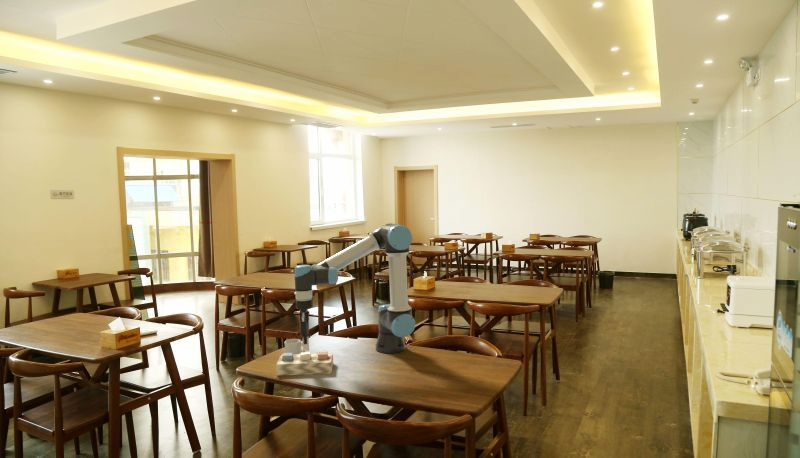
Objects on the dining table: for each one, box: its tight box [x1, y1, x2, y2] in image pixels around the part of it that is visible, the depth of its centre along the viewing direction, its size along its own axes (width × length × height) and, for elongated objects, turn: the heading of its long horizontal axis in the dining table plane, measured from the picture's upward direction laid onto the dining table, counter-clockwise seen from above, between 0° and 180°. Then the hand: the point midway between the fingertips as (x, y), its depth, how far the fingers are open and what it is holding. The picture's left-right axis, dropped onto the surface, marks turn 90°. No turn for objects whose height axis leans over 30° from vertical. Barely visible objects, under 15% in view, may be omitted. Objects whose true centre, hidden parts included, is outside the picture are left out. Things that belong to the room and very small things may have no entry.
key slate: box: [281, 352, 293, 361], centre depth 237 cm, size 4×4×5 cm
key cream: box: [300, 351, 312, 360], centre depth 238 cm, size 4×4×5 cm
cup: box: [284, 338, 306, 354], centre depth 256 cm, size 11×8×8 cm
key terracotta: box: [317, 351, 329, 360], centre depth 238 cm, size 4×4×5 cm
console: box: [275, 352, 334, 377], centre depth 238 cm, size 24×14×5 cm, turn 94°
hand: (306, 350), depth 238 cm, fingers closed
